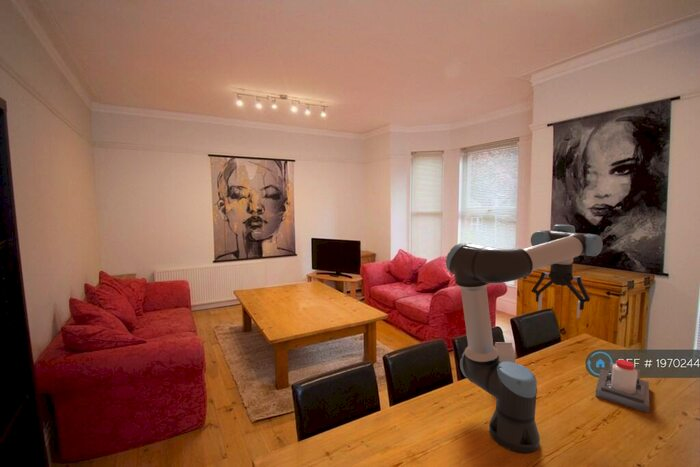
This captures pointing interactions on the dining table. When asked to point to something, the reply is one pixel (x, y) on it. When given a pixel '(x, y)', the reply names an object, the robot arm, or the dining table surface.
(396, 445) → the dining table surface
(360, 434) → the dining table surface
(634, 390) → the pill bottle
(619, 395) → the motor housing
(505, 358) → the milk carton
